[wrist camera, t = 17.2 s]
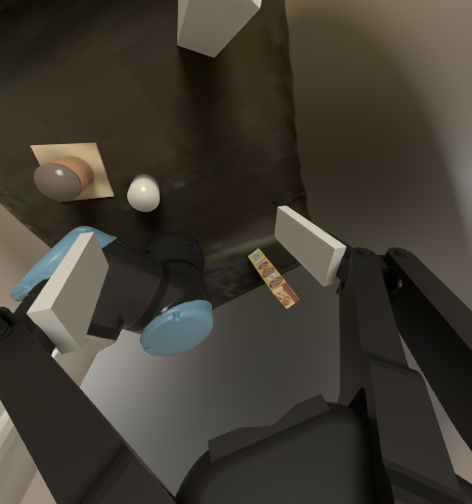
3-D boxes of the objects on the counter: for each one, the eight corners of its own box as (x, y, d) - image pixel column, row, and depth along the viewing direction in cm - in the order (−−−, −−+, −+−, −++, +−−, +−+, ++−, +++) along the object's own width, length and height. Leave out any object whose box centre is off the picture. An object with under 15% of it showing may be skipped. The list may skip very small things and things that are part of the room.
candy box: (246, 256, 58) (270, 293, 45) (258, 247, 57) (286, 281, 45) (261, 272, 63) (286, 310, 51) (272, 264, 63) (300, 300, 50)
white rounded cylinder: (161, 197, 42) (162, 209, 37) (135, 200, 41) (132, 213, 36) (156, 172, 40) (155, 181, 34) (128, 175, 38) (123, 184, 33)
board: (114, 195, 39) (113, 196, 39) (60, 200, 37) (58, 201, 37) (96, 142, 35) (95, 143, 34) (32, 145, 32) (30, 145, 32)
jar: (86, 153, 34) (69, 161, 28) (99, 184, 37) (87, 198, 31) (50, 157, 33) (24, 166, 27) (67, 189, 36) (47, 204, 30)
